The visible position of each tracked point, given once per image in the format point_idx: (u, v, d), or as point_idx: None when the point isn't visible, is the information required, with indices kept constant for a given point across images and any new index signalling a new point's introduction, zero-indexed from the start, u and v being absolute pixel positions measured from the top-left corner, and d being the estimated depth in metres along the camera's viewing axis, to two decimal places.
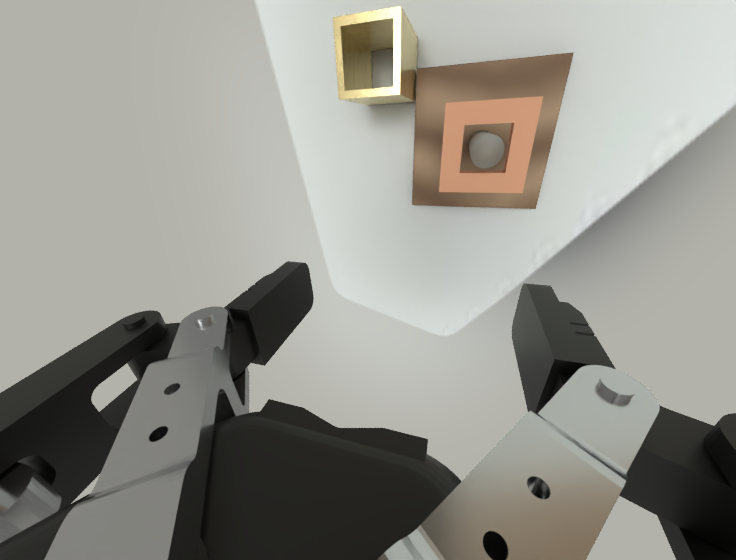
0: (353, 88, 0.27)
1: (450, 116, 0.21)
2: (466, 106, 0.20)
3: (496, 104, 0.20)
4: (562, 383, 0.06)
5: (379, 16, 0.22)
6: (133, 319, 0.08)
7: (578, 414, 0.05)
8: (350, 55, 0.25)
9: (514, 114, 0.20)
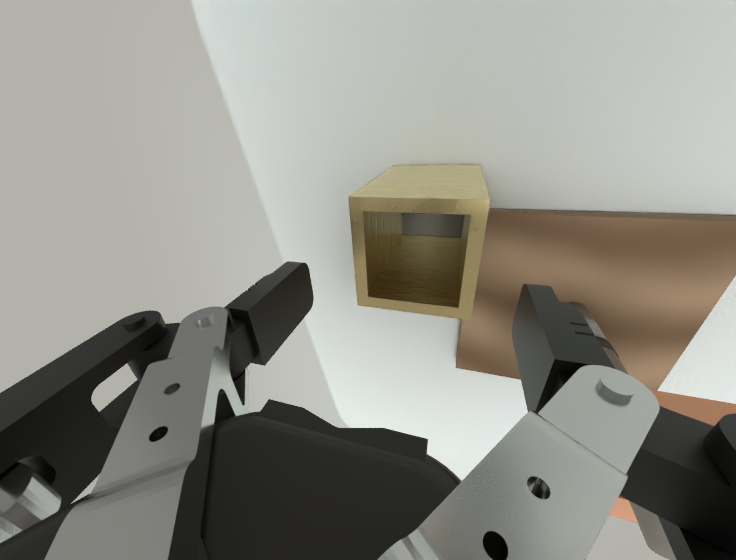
0: (380, 267, 0.16)
1: None
2: None
3: None
4: (562, 383, 0.06)
5: (442, 208, 0.11)
6: (133, 319, 0.08)
7: (578, 414, 0.05)
8: (377, 229, 0.15)
9: None
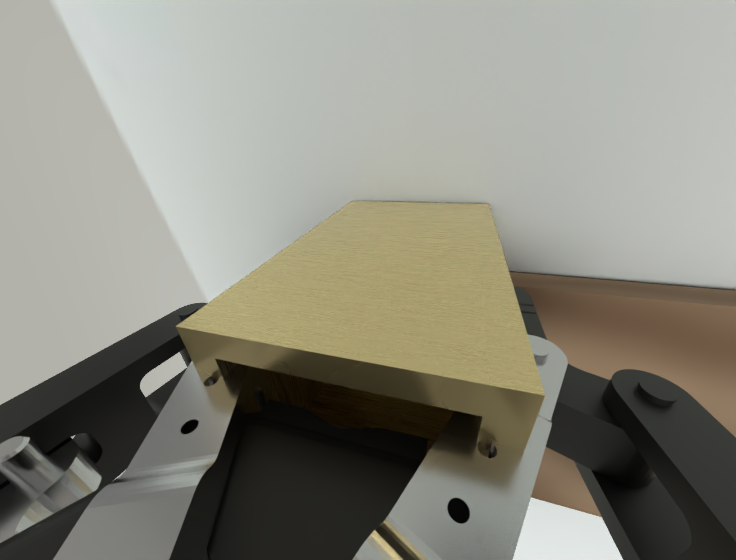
0: (312, 395, 0.09)
1: None
2: None
3: None
4: None
5: (400, 386, 0.04)
6: (187, 311, 0.08)
7: None
8: None
9: None
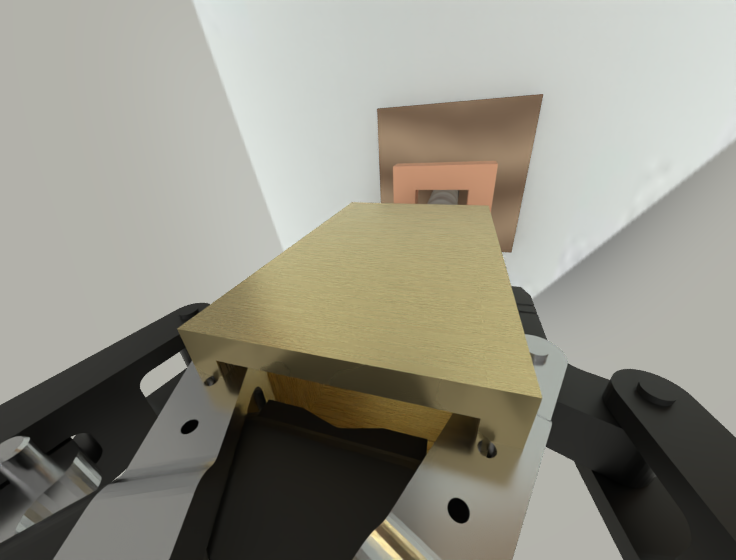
0: (312, 396, 0.09)
1: (399, 180, 0.19)
2: (415, 171, 0.18)
3: (447, 170, 0.18)
4: None
5: (399, 389, 0.04)
6: (188, 311, 0.08)
7: None
8: None
9: (468, 181, 0.18)
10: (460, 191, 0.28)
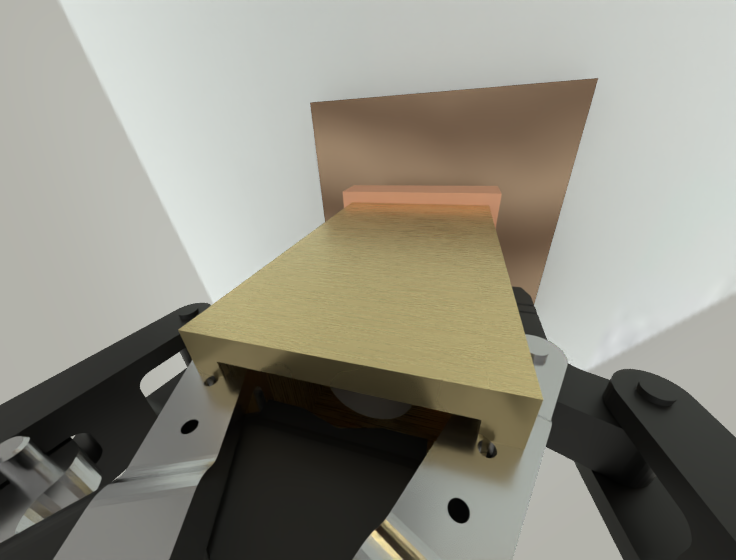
0: (312, 396, 0.09)
1: None
2: (375, 199, 0.12)
3: (423, 200, 0.11)
4: None
5: (400, 390, 0.04)
6: (187, 311, 0.08)
7: None
8: None
9: None
10: None
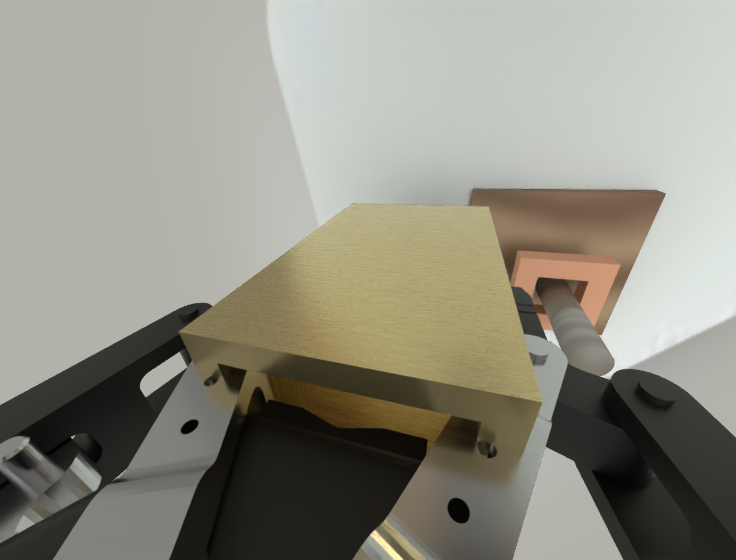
0: (312, 397, 0.09)
1: (524, 268, 0.22)
2: (541, 263, 0.21)
3: (572, 265, 0.21)
4: None
5: (400, 392, 0.04)
6: (188, 311, 0.08)
7: None
8: None
9: (589, 275, 0.21)
10: None
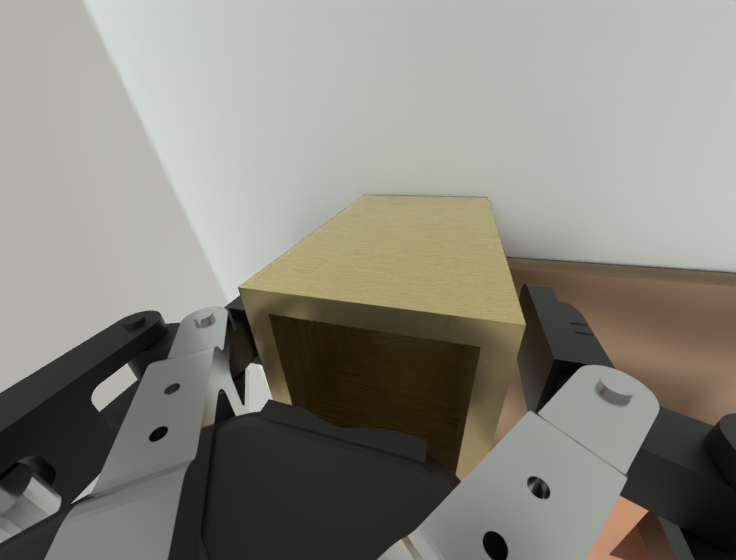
0: (331, 363, 0.10)
1: None
2: None
3: None
4: (562, 383, 0.06)
5: (418, 327, 0.05)
6: (133, 319, 0.08)
7: (578, 414, 0.05)
8: None
9: None
10: None
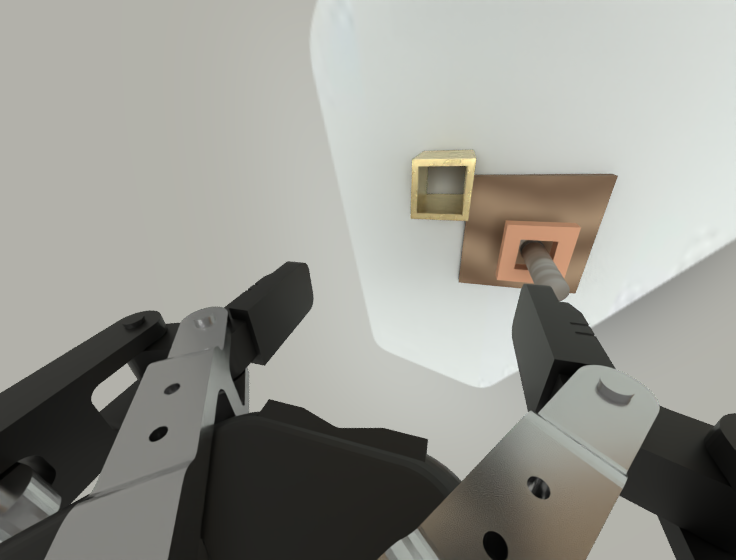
0: (420, 202, 0.30)
1: (510, 233, 0.29)
2: (523, 228, 0.28)
3: (546, 229, 0.28)
4: (562, 383, 0.06)
5: (455, 163, 0.25)
6: (132, 319, 0.08)
7: (578, 414, 0.05)
8: (420, 179, 0.29)
9: (559, 236, 0.28)
10: None
